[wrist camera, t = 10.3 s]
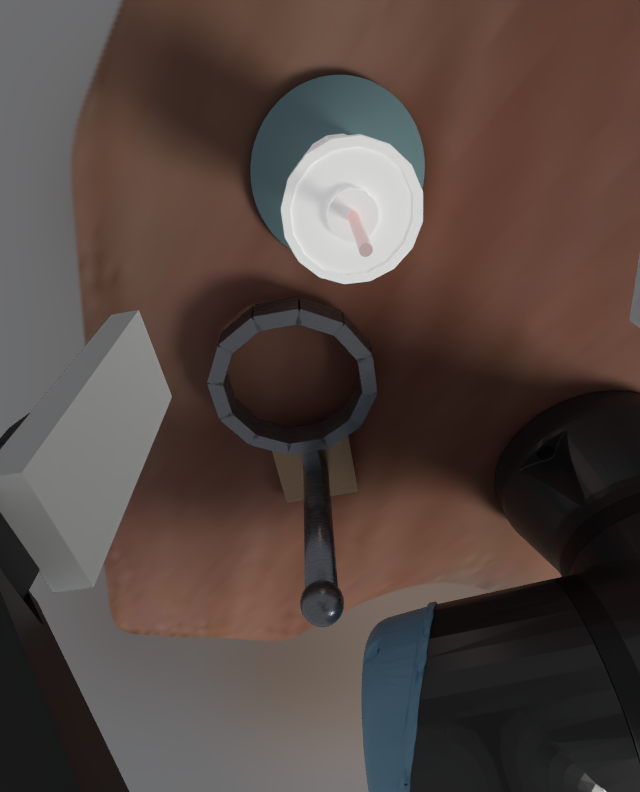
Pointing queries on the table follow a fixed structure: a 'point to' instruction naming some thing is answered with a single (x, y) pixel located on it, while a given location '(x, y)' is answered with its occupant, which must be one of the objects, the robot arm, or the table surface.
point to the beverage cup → (352, 208)
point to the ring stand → (303, 439)
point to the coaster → (325, 133)
